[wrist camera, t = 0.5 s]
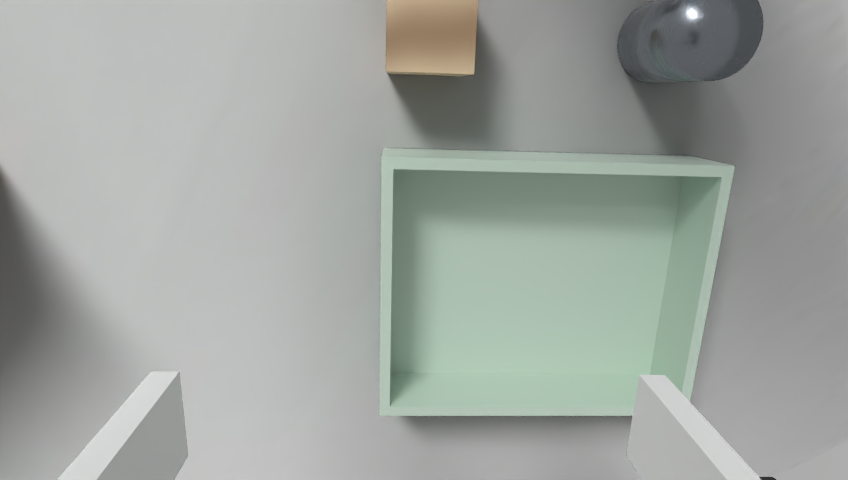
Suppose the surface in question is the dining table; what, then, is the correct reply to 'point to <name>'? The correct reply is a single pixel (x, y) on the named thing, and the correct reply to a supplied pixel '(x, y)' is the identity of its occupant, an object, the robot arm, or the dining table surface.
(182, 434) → the robot arm
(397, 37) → the oak cube
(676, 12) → the grey tin
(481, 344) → the tote
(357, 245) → the dining table surface
